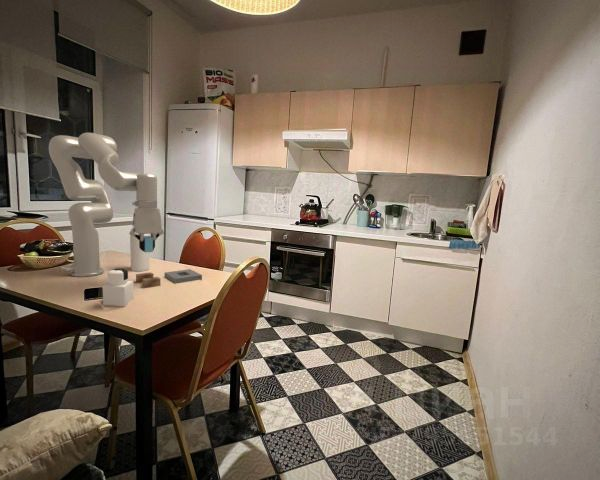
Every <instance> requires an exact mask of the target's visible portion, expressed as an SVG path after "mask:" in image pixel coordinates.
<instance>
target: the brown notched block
mask: <svg viewBox="0 0 600 480" xmlns="http://www.w3.org/2000/svg"><path fill="white" fill-rule="evenodd" d="M135 282H136V283H138V284H139V285H140V286H142V287H143V288H144V289H147V288H148V289H149V288H154V287H160V286H161V278H160V277H159V276H154V273H152V272H145V273H136V274H135Z"/></svg>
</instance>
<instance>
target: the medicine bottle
mask: <svg viewBox="0 0 600 480" xmlns="http://www.w3.org/2000/svg"><path fill="white" fill-rule="evenodd" d="M101 290H102V305H103V306H116V307H117V308H119V307H123V308H124V307H126V306H127V305H128V304H129V303H130V302H132V300H134V299H135V297H134V281H133V280H129V270H128V269H125V268H123V267H122V268H117V267H116V268H112V269H110V270H108V271H107V283H106V284H104V285H102V288H101Z"/></svg>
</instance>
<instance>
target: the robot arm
mask: <svg viewBox="0 0 600 480" xmlns="http://www.w3.org/2000/svg"><path fill="white" fill-rule="evenodd" d="M117 150H118V146H117V142H116V141H115V140H114V139H113V138H112V137H110V136H108V135H104V134H99V133H95V132H83V133H81V134H80V135H79V136H78V137H76V136H70V135H63V134H62V135H61V134H60V135H55V136H53V137H52V138H51V139H50V140H49V143H48V153H49V156H50V159H51V161H52V163H53V164H54V167H55V168H56V170H57V172H58V175H59V178H60V182H61V184H62V186H63V191H64V193H65V195H66V197H67V198H68V199H69V200H71V201H73V202H74V201H76V203H74V204H72V205H71V206H70V207H69V208H68V212H67V213H68V219H69V223H70V225H71V232H72V233H71V235H72V248H73V249H72V250H73V251H72V252H73V263H72V264H71V265H69V266H66V265H65V266H60V271H61V272H69V274H70V276H72V277H77V278H78V277H84V278H85V277H94V276H99V275H102V274H104V271H105V270H104V268H101V264H100V239H99V232H98V230H97V229H96V227H95V226H94V225H97V224H105V223H109V222H111V221H112V219H113V217H114V210H113V206H112V203H111V201H110V198H109V195H108V191H107V189H106V187H105V185H104V184H103V183H102V182H101V181H99V180H95V179H87V178H86V177H85V176H84V173H83V169H82V168H81V166H80V165H79V163H77V162H76V160H74V159H73V158H79V159H86V160H93V161H94V162H95V163H96V164H97V169H98V174H99V177H100V178H101V180H103V182H104V183H105V184H107V185H108V186H109V187H110V188H111V189H113V190H115V191H118V192H135V194H136V195H135V196H136V198H135V199H136V200H135V201H132V206H135V207H134V211H133V216H132V228H131V229H130V232H129V233H128V234H129V236H130V235H132V236H134V237H136V238H137V239H138V240H139V248H140V249H141V250H142V251H145V242H144V234H149V235H150V236H151V237H153V251H155V247H156V241H157V239H158V238H159V237H160V236H162V235H164V233H165V231H164V230H163V227H162V225H163V224H162V223H163V222H162V214H161V211H160V208H158V178H157V176H156V175H155V174H152V173H138V172H131V171H120V170H118V169H117V167H116V165H117V164H118V163H119V159H120V158H119V156H120V155H119V154H118V153H117ZM83 201H84V202H83ZM88 201H89V202H88ZM135 232H136V233H138V235H137V234H135Z"/></svg>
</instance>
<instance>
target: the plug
mask: <svg viewBox="0 0 600 480" xmlns="http://www.w3.org/2000/svg"><path fill="white" fill-rule="evenodd" d="M144 242H145V251H143V252H145V253H146V252H149V253H153V252H154V250H153V237H151V235H149V236H144Z"/></svg>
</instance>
